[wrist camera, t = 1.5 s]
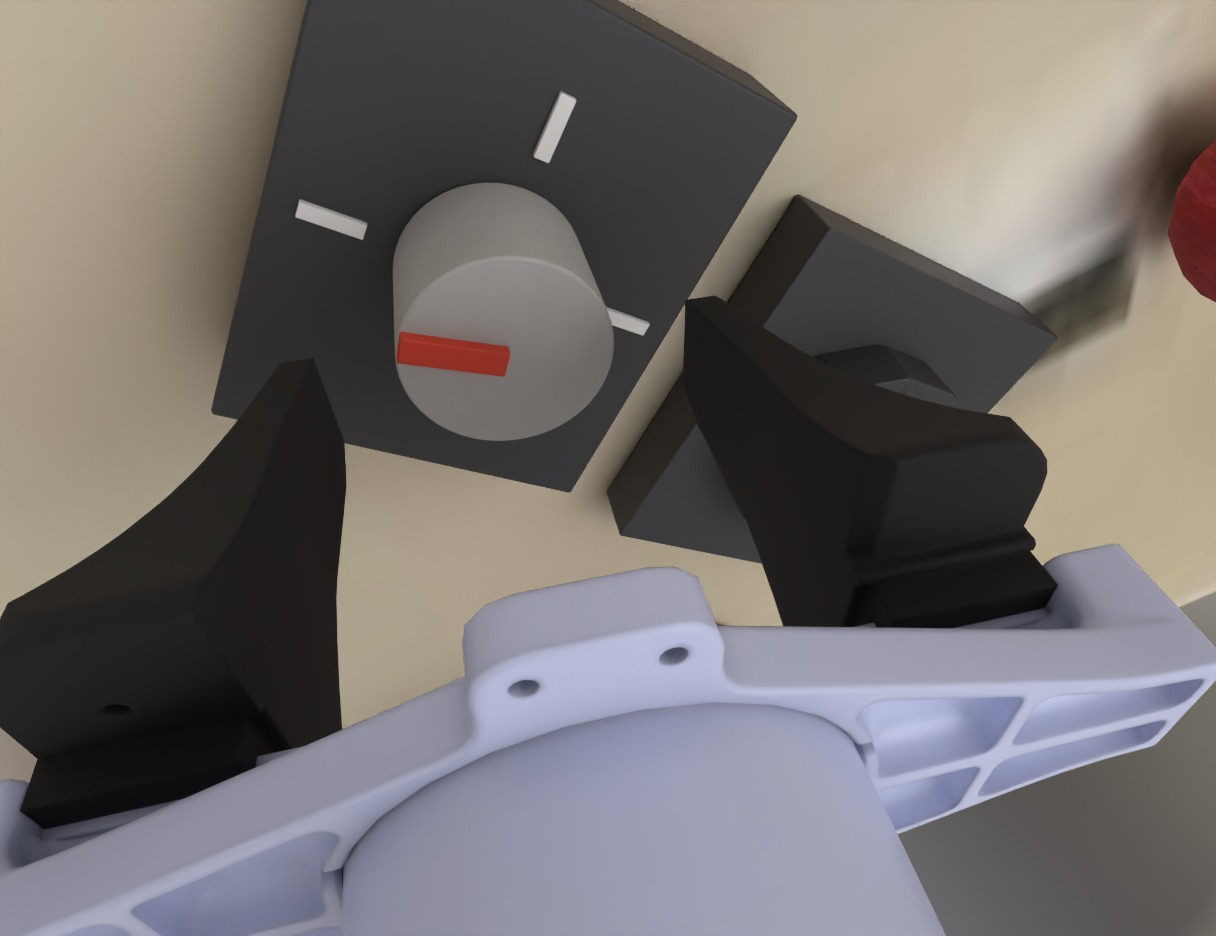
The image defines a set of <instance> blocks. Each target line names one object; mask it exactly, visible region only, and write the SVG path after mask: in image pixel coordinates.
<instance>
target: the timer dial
mask: <svg viewBox="0 0 1216 936" xmlns="http://www.w3.org/2000/svg"><path fill="white" fill-rule="evenodd" d="M393 303H394V341H395V361H396V368H397V372H398V376H399V379H400V381H401V383H402V386H403V388H404V390H405V391H406V393H407V395H408V396H409V398H410V399H411V400H412V402H413V403H414V404H415V405H416V406H417V408H418V409H419V410H420V411H421V412H423V413H424V414H425V415H426V416H427V417H428V418H430V419H431V420H432V421H434V422H435V423H437V424H438V425H440V426H442V427H444V428H446V429H448V430H450V431H452V432H455V433H457V434H460V435H463V436H467V437H471V438H475V439H482V440H492V441H506V440H517V439H523V438H528V437H532V436H535V435H539V434H542V433H544V432H547V431H550V430H552V429H554V428H556V427H558V426H560V425H562V424H563V423H565V422H567V421H568V420H570V419H571V418H573V417H574V416H575V415H577V414H578V413H579V412H580V411H582V410H583V409H584V408H585V407H586V406H587V405H588V404H589V403H590V402H591V400H592V399H593V398H594V397H595V395H596V394H597V393H598V391H599V390H600V388H601V386H602V385H603V383H604V381H605V379H606V377H607V374H608V372H609V369H610V366H611V362H612V359H613V351H614V333H613V327H612V322H611V319H610V317H609V314H608V311H607V308H606V306H605V304H604V301H603V299H602V296H601V294H600V291H599V289H598V287H597V284H596V282H595V279H594V277H593V274H592V272H591V270H590V267H589V265H588V262H587V260H586V258H585V255H584V253H583V250H582V248H581V245H580V243H579V241H578V238H577V236H576V234H575V232H574V230H573V228H572V226H571V225H570V224H569V222H568V221H567V219H566V218H565V217H564V216H563V214H562V213H561V212H560V211H559V210H558V209H557V208H556V207H555V206H553V205H552V204H551V203H550V202H548V201H547V200H545V199H544V198H542V197H541V196H539V195H537V194H535V193H533V192H531V191H529V190H526V189H524V188H520V187H517V186H513V185H509V184H502V183H476V184H469V185H465V186H461V187H457V188H455V189H452V190H449V191H447V192H445V193H443V194H441V195H439V196H437V197H435V198H434V199H432V200H431V201H430V202H428V203H427V204H426V205H424V206H423V207H422V208H421V209H420V210H419V211H418V212H417V213H416V214H415V215H414V216H413V217H412V218H411V220H410V221H409V222H408V224H407V225H406V227H405V228H404V230H403V232H402V234H401V236H400V238H399V241H398V243H397V246H396V250H395V254H394V259H393Z"/></svg>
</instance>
